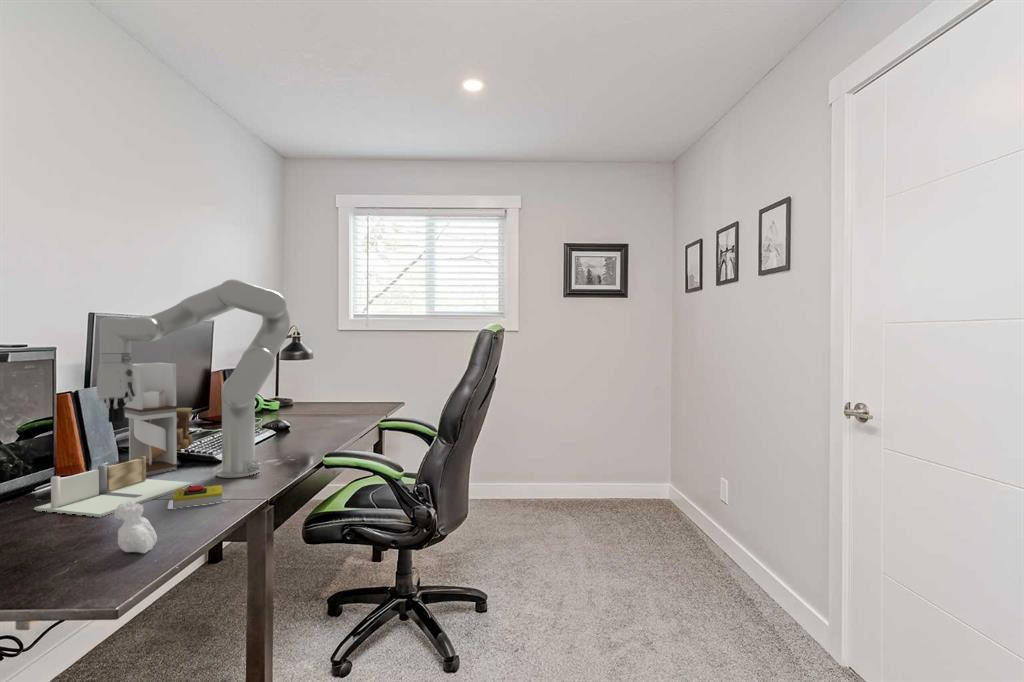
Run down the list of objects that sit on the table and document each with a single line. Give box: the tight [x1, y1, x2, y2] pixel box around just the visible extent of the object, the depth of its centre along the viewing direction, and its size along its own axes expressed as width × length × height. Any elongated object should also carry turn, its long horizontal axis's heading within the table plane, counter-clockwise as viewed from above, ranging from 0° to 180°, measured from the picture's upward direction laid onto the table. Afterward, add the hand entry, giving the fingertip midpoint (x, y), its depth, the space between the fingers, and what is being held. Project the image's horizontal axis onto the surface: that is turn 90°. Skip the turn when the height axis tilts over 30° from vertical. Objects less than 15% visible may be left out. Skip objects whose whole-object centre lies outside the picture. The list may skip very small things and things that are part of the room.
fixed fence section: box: [50, 464, 108, 508], centre depth 146 cm, size 14×2×8 cm, turn 167°
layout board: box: [33, 478, 195, 518], centre depth 151 cm, size 21×29×1 cm
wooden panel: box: [107, 456, 147, 491], centre depth 159 cm, size 12×2×7 cm, turn 167°
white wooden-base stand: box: [124, 362, 178, 476], centre depth 180 cm, size 11×11×35 cm
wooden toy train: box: [176, 407, 194, 450], centre depth 201 cm, size 20×11×17 cm, turn 24°
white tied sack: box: [113, 501, 158, 554], centre depth 115 cm, size 12×8×11 cm
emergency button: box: [172, 484, 223, 509], centre depth 148 cm, size 9×4×15 cm
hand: (116, 421), depth 162 cm, fingers closed
